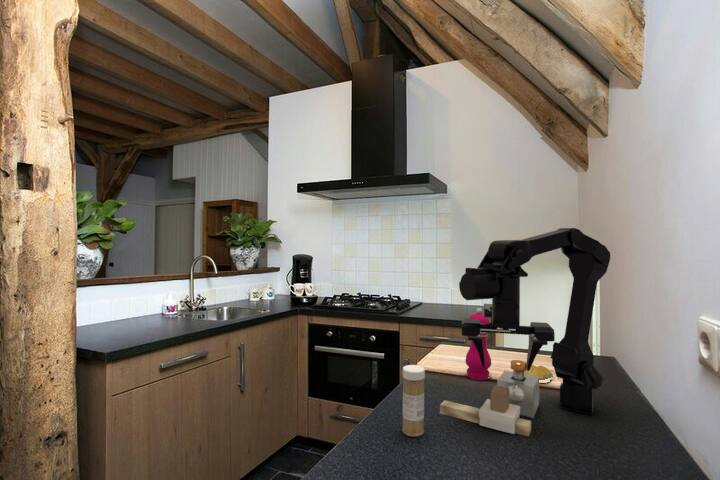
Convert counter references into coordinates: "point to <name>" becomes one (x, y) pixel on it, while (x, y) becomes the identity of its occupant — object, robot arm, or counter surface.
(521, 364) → the plunger
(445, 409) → the rail
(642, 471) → the counter surface
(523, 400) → the cabinet
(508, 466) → the counter surface
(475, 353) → the pepper mill
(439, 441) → the counter surface
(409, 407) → the sprinkles bottle
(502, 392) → the carriage
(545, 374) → the bread roll
